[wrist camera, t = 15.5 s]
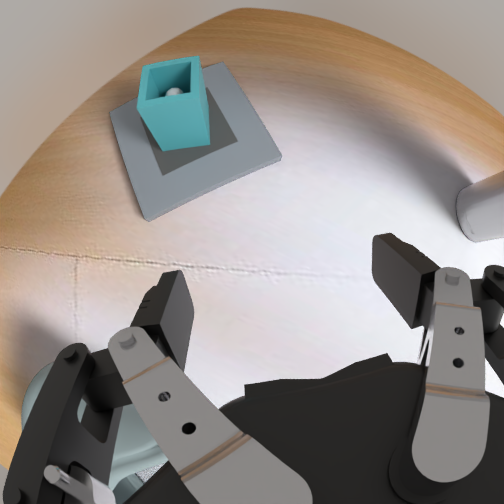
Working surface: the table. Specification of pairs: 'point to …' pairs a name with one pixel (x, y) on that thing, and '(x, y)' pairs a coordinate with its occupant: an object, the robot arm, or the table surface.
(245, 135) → the post plate
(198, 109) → the teal square container
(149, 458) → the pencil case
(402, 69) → the table surface
